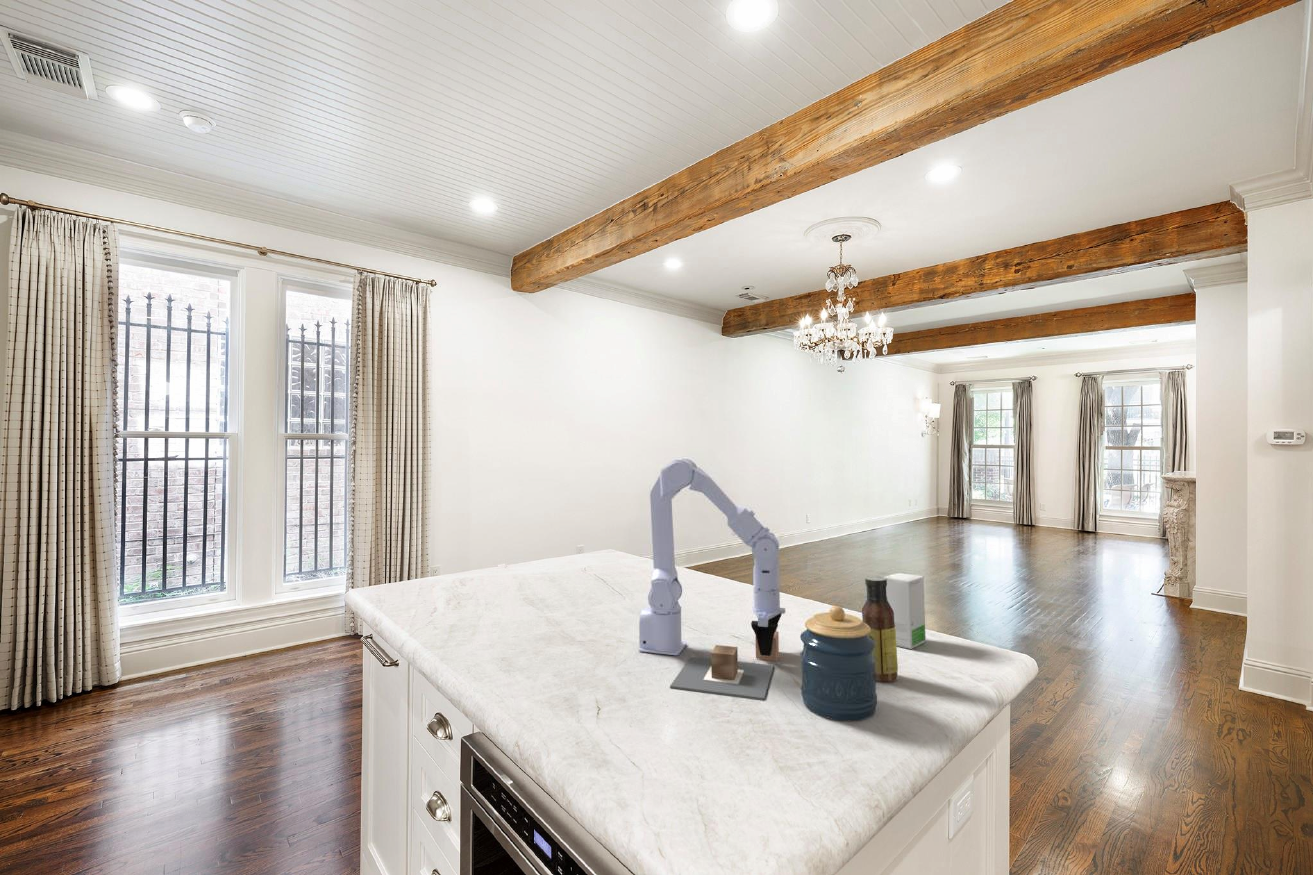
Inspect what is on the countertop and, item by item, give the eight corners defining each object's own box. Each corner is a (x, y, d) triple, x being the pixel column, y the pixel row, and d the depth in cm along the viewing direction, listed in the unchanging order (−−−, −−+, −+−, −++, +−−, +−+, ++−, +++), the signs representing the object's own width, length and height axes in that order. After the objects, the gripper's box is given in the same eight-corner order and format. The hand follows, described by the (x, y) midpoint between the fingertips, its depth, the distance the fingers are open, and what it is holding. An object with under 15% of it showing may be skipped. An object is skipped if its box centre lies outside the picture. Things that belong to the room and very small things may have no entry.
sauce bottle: (896, 673, 113) (894, 575, 113) (899, 685, 107) (897, 582, 107) (862, 669, 115) (860, 573, 115) (863, 681, 109) (861, 580, 110)
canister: (869, 730, 90) (867, 621, 91) (791, 711, 97) (790, 610, 97) (883, 699, 101) (881, 602, 102) (813, 683, 108) (811, 593, 109)
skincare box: (911, 650, 125) (909, 581, 126) (882, 642, 130) (881, 576, 131) (926, 641, 131) (925, 575, 131) (899, 634, 136) (898, 571, 136)
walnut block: (711, 677, 110) (711, 652, 110) (716, 669, 115) (715, 644, 115) (734, 680, 109) (733, 654, 109) (737, 671, 113) (737, 647, 113)
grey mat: (670, 687, 107) (670, 685, 107) (690, 657, 122) (690, 655, 122) (764, 700, 101) (764, 697, 101) (773, 667, 117) (773, 664, 117)
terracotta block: (755, 659, 121) (755, 636, 122) (758, 651, 126) (758, 629, 126) (776, 661, 120) (776, 638, 120) (778, 653, 124) (778, 631, 124)
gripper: (781, 597, 115) (782, 663, 115) (787, 581, 129) (788, 640, 129) (747, 595, 117) (748, 659, 117) (757, 579, 131) (757, 637, 131)
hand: (767, 649), depth 123 cm, fingers open, 6 cm apart
